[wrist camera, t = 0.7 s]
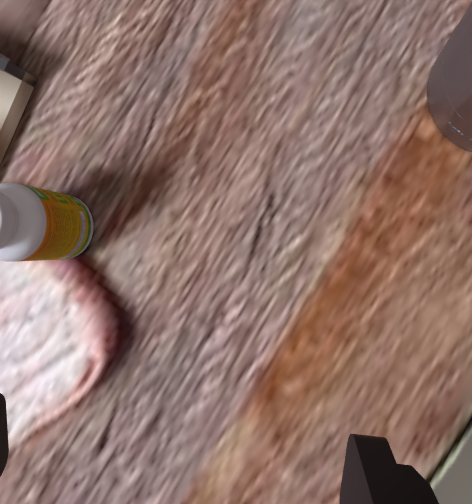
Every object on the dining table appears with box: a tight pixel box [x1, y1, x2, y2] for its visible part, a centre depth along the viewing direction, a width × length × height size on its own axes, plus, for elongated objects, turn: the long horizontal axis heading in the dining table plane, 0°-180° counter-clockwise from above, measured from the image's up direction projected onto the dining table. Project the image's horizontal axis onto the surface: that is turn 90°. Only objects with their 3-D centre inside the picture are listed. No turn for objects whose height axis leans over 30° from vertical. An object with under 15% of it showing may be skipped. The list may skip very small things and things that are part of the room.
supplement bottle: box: [0, 183, 93, 261], centre depth 31 cm, size 5×5×10 cm
